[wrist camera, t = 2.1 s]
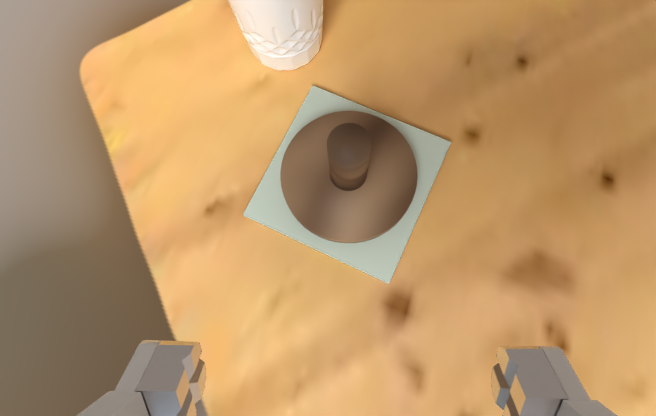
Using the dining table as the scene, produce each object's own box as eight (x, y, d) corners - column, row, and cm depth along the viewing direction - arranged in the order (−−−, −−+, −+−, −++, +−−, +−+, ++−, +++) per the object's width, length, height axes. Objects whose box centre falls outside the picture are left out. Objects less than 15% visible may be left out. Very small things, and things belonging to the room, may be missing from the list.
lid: (435, 147, 36) (457, 106, 29) (382, 266, 34) (392, 252, 27) (317, 98, 37) (311, 48, 30) (259, 208, 35) (238, 181, 28)
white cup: (280, -10, 41) (259, -112, 31) (345, 31, 40) (345, -62, 30) (226, 48, 40) (188, -40, 30) (292, 93, 38) (274, 16, 29)
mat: (449, 144, 36) (451, 142, 36) (388, 284, 34) (389, 283, 33) (313, 88, 38) (312, 85, 38) (244, 216, 36) (242, 214, 35)
